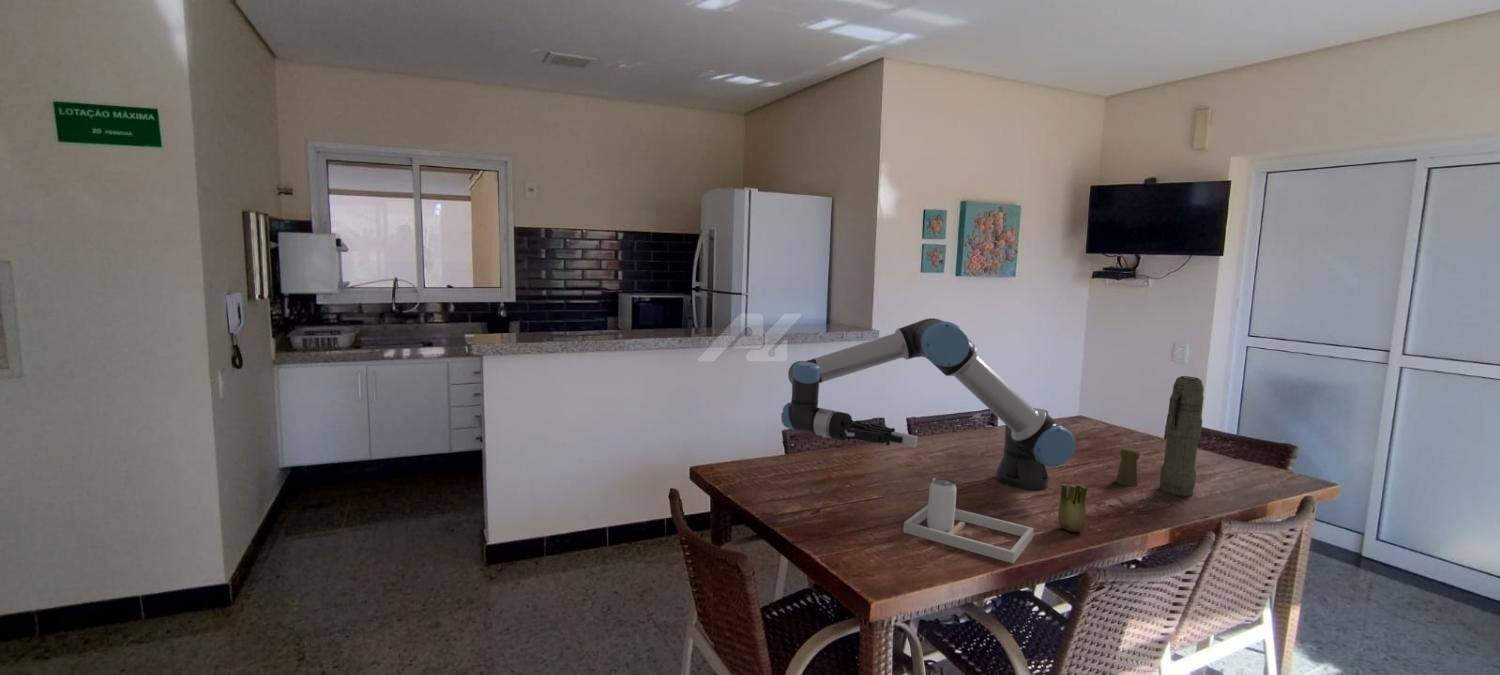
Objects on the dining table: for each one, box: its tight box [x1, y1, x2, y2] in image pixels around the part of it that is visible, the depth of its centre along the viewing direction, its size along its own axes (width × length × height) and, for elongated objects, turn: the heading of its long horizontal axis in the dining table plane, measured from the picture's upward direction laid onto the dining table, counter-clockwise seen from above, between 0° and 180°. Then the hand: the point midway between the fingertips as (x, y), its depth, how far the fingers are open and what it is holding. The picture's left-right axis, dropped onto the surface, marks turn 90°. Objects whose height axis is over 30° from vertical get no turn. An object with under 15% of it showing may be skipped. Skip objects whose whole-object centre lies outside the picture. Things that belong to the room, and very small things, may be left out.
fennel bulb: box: [1058, 483, 1088, 534], centre depth 170 cm, size 6×5×12 cm
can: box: [926, 477, 957, 533], centre depth 168 cm, size 6×6×12 cm
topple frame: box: [902, 504, 1035, 564], centre depth 165 cm, size 26×18×2 cm
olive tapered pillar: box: [1115, 447, 1140, 487], centre depth 209 cm, size 6×6×11 cm
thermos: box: [1158, 375, 1205, 498], centre depth 201 cm, size 9×12×35 cm
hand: (916, 441), depth 171 cm, fingers closed
